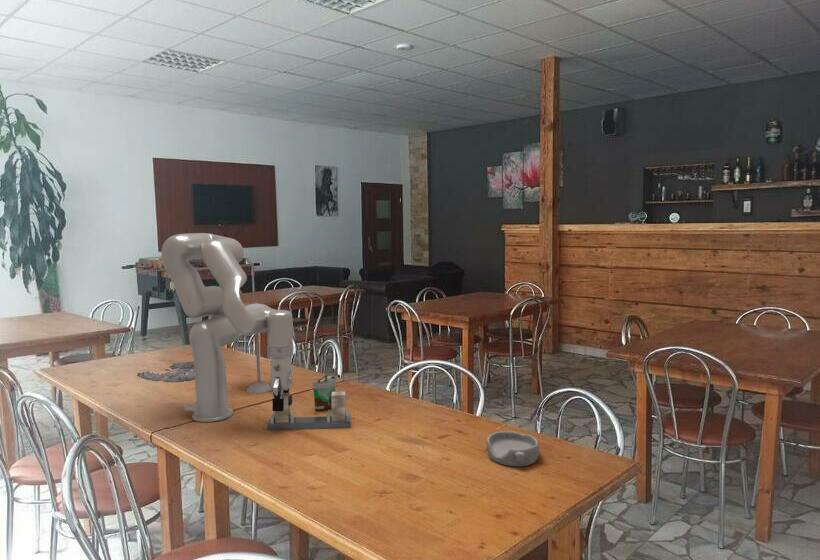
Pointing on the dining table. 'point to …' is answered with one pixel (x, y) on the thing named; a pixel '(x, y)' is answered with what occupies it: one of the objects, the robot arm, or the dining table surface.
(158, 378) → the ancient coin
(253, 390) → the lamp
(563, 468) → the dining table surface
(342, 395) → the block
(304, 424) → the rail
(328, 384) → the food container
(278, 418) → the block
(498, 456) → the dish
